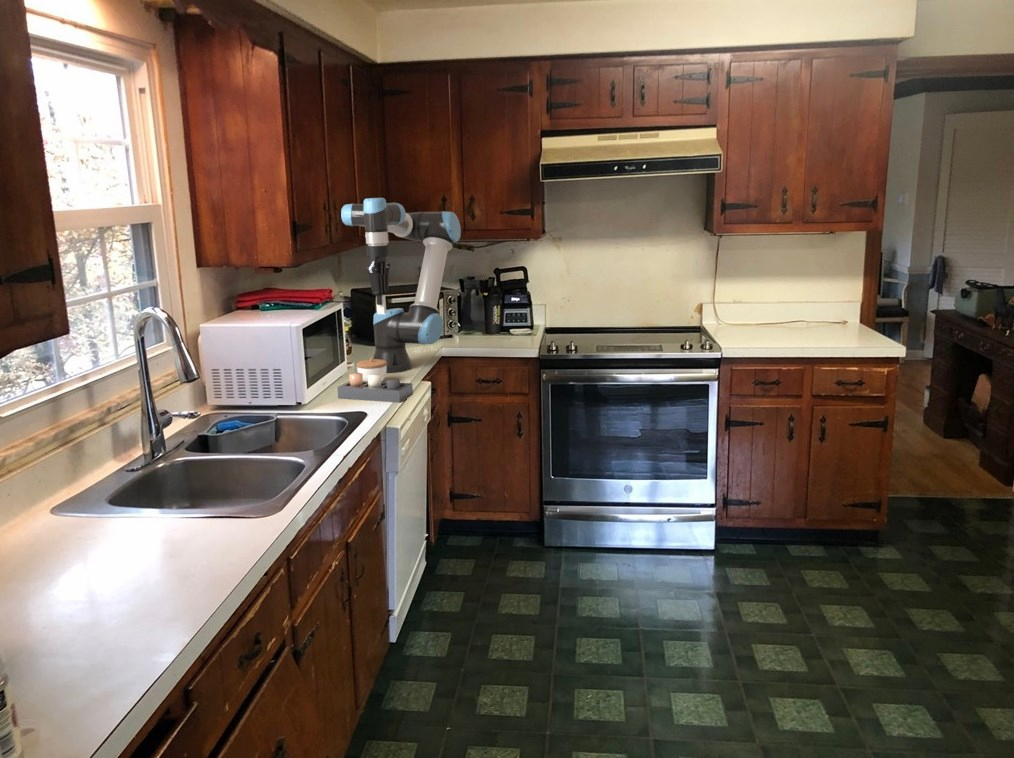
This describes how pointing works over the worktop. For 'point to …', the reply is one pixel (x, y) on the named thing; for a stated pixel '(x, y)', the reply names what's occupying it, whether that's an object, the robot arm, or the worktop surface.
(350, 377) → the pink rounded cylinder
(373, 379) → the cream cup
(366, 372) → the lidded jar
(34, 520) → the worktop surface
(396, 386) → the grey cup
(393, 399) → the dark grey tray
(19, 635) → the worktop surface
